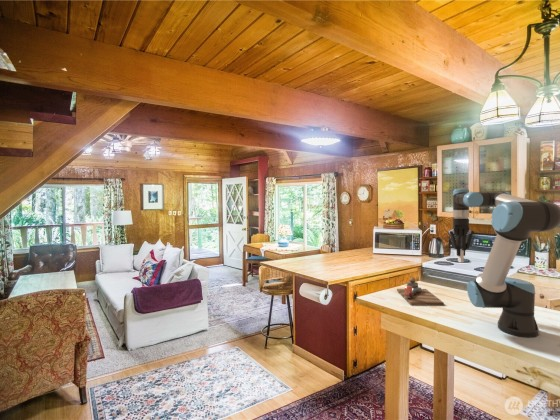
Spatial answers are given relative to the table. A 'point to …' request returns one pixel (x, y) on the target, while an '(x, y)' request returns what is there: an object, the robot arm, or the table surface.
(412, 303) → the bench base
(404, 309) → the table surface
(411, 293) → the lever
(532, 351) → the table surface
